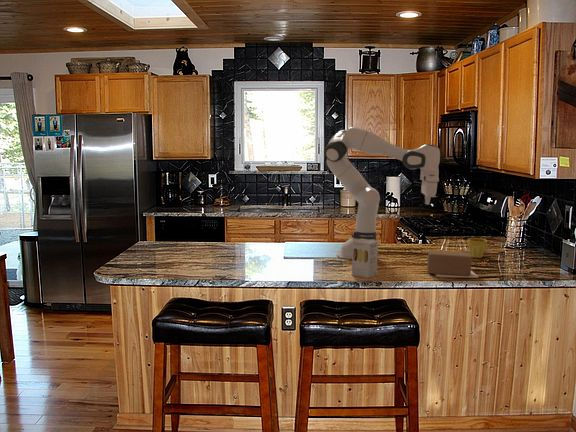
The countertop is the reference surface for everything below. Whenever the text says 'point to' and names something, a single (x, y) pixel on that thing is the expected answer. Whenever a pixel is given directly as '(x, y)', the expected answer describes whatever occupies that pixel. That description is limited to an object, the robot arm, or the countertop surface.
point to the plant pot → (477, 247)
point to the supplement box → (364, 258)
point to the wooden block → (449, 263)
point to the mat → (458, 276)
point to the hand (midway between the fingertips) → (427, 204)
